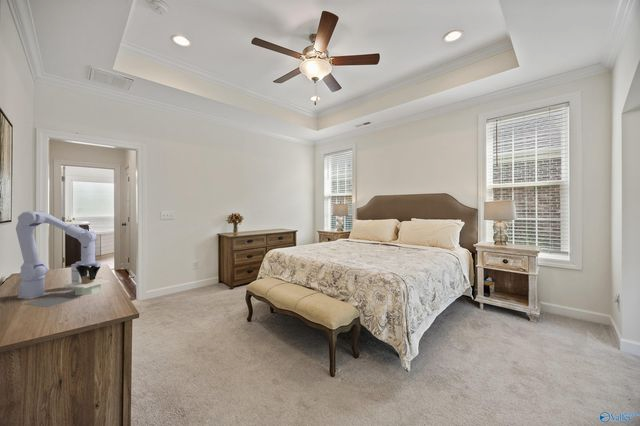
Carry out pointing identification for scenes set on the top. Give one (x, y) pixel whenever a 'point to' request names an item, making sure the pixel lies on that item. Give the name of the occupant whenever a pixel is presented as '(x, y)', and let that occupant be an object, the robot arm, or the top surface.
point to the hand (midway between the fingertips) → (88, 279)
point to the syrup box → (75, 274)
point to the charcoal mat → (51, 300)
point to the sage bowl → (88, 290)
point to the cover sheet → (78, 284)
